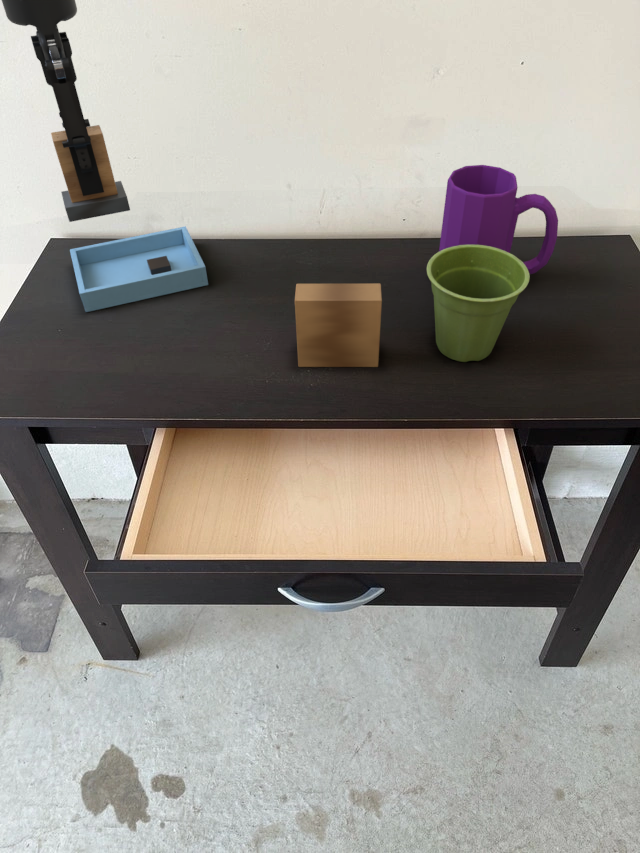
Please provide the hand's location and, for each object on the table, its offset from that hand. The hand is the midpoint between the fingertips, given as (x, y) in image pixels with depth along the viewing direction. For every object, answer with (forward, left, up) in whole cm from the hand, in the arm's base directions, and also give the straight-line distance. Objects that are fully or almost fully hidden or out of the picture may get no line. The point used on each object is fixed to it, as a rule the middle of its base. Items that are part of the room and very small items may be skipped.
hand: (91, 186), depth 87 cm
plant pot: (+39, -33, -15) cm, 54 cm away
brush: (0, 0, -3) cm, 3 cm away
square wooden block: (+23, -29, -15) cm, 40 cm away
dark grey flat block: (+6, 0, -14) cm, 15 cm away
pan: (+3, 0, -15) cm, 15 cm away
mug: (+50, -21, -15) cm, 57 cm away
